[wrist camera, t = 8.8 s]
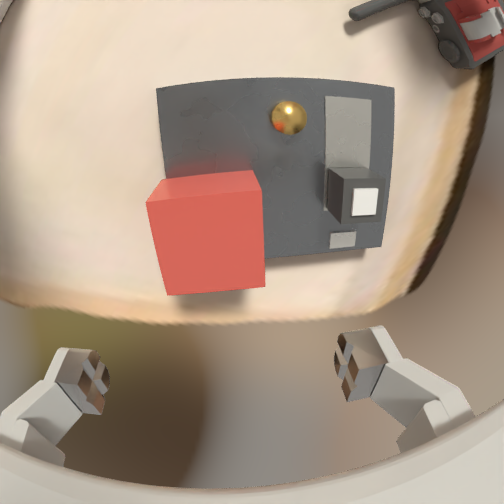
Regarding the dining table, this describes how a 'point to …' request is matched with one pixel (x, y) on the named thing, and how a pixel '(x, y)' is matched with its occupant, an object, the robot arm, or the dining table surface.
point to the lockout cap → (208, 232)
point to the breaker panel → (284, 149)
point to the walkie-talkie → (455, 26)
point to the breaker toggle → (355, 195)
